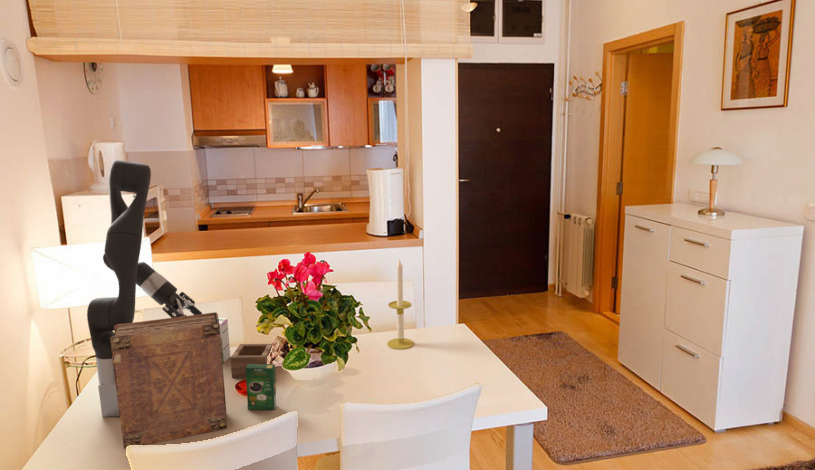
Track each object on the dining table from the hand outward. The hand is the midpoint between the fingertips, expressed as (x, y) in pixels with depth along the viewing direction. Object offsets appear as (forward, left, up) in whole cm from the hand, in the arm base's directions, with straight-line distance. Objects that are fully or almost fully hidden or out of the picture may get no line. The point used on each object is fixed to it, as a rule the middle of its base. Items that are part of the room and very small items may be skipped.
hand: (195, 319), depth 188 cm
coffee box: (-34, -30, -15) cm, 48 cm away
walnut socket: (-9, -21, -15) cm, 27 cm away
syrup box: (0, -7, -15) cm, 16 cm away
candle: (+11, -70, -15) cm, 72 cm away
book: (-45, -10, -15) cm, 48 cm away
